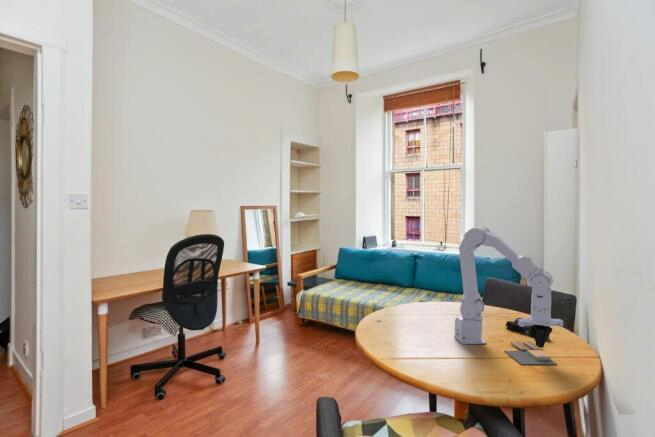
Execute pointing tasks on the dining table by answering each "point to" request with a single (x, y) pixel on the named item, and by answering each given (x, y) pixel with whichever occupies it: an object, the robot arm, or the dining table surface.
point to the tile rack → (526, 343)
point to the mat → (527, 358)
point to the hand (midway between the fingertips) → (539, 346)
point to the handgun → (520, 328)
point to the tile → (538, 355)
